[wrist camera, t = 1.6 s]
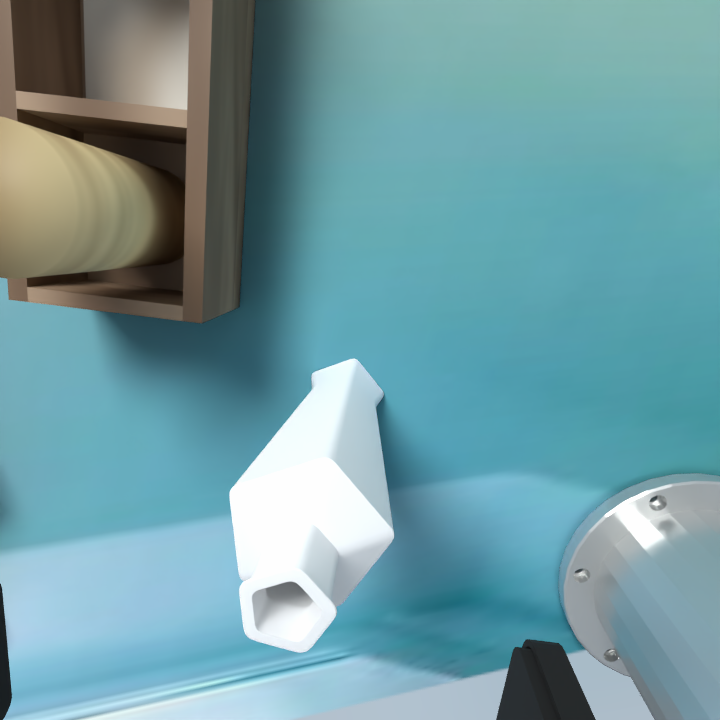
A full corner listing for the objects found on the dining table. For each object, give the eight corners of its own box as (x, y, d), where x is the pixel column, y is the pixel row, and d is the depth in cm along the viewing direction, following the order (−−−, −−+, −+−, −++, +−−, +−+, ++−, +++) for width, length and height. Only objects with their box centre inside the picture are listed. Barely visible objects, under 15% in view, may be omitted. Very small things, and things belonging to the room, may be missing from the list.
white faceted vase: (391, 434, 25) (398, 699, 11) (309, 436, 25) (207, 695, 11) (389, 350, 24) (392, 517, 10) (304, 353, 24) (180, 518, 10)
